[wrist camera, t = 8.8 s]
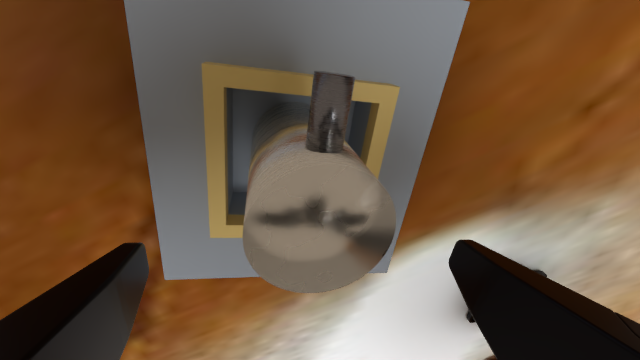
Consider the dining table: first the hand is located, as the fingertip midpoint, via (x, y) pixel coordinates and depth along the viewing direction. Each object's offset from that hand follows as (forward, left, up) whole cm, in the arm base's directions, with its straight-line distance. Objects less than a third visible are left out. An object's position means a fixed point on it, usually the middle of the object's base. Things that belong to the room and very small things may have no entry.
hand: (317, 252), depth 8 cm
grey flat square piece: (0, 0, -11) cm, 11 cm away
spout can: (+1, 0, -10) cm, 10 cm away
